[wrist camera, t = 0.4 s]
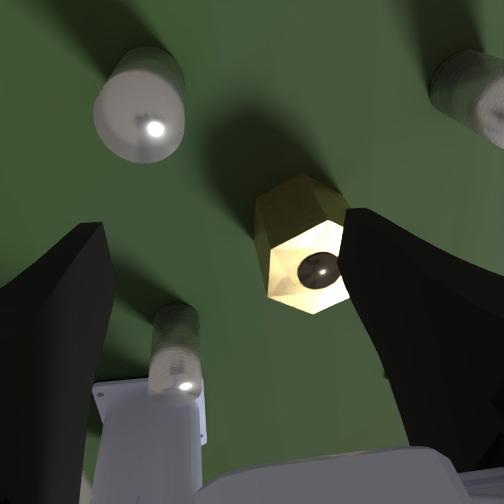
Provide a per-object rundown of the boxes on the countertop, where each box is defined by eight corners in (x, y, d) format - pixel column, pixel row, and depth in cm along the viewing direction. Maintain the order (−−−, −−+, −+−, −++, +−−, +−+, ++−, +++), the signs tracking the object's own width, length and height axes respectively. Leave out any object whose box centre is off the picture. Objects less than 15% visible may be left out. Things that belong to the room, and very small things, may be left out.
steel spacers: (403, 317, 30) (441, 379, 25) (156, 337, 27) (150, 408, 23) (498, 49, 19) (591, 76, 15) (110, 44, 17) (84, 74, 13)
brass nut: (330, 255, 25) (358, 311, 21) (252, 259, 25) (266, 318, 21) (346, 171, 22) (382, 219, 18) (256, 173, 21) (273, 223, 17)
